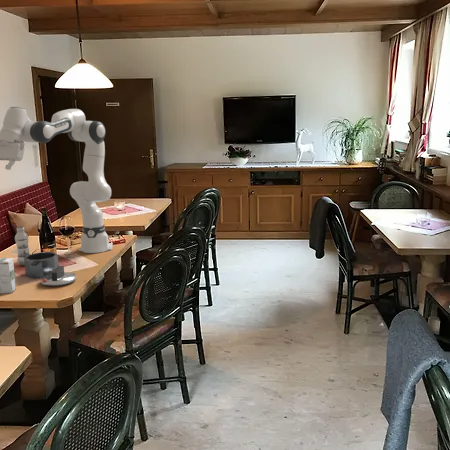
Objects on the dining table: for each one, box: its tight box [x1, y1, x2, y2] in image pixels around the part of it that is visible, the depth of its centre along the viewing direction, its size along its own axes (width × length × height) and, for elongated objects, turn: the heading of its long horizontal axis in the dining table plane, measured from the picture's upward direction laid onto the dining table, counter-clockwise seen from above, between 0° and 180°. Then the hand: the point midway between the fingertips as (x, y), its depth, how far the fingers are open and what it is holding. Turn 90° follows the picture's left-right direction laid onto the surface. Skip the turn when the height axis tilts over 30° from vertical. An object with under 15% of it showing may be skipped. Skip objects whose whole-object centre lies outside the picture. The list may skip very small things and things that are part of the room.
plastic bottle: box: [14, 226, 31, 266], centre depth 261 cm, size 6×7×20 cm
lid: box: [40, 265, 77, 287], centre depth 234 cm, size 16×16×6 cm
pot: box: [24, 251, 60, 280], centre depth 246 cm, size 20×14×9 cm
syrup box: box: [0, 257, 17, 294], centre depth 222 cm, size 6×6×14 cm
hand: (0, 169), depth 228 cm, fingers open, 8 cm apart
